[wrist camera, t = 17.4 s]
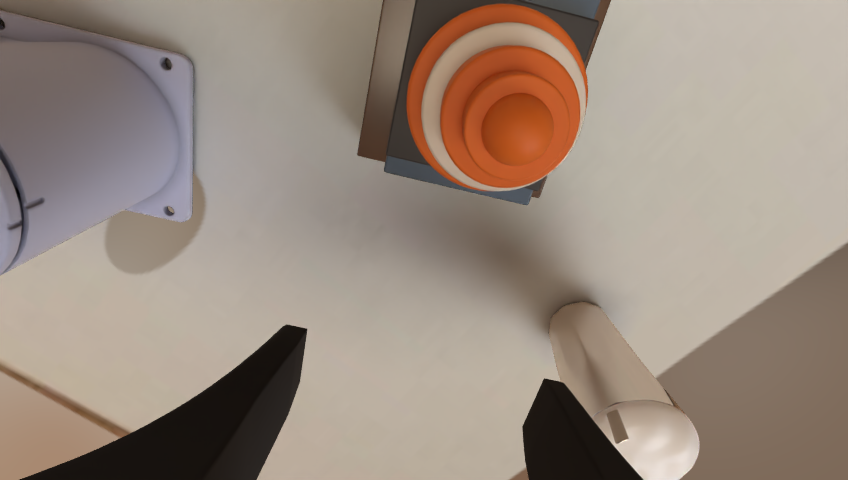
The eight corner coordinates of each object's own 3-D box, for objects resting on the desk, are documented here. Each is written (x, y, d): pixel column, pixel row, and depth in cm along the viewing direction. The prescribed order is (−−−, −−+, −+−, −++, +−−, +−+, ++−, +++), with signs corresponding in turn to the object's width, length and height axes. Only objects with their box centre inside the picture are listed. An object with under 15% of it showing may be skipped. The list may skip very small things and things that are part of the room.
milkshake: (591, 264, 23) (691, 414, 14) (632, 335, 24) (745, 510, 15) (514, 304, 24) (559, 466, 15) (558, 369, 26) (623, 549, 16)
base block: (366, 143, 20) (356, 155, 18) (400, -54, 17) (394, -69, 15) (528, 181, 21) (539, 198, 19) (592, -3, 18) (614, -10, 15)
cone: (387, 151, 14) (341, 242, 8) (421, -24, 12) (399, -98, 6) (535, 186, 14) (609, 302, 8) (593, 21, 12) (757, 0, 6)
